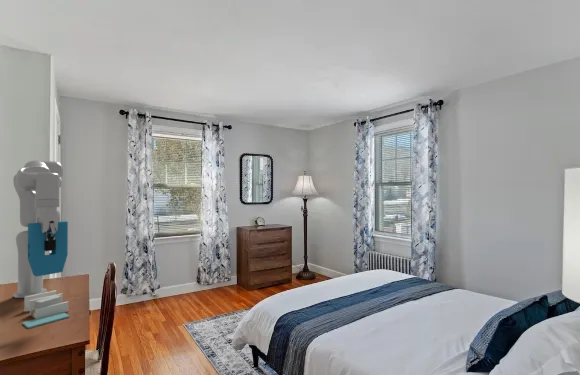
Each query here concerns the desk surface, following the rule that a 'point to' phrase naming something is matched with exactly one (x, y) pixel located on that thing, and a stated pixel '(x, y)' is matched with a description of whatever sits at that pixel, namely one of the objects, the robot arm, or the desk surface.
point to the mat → (45, 320)
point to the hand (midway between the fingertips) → (47, 249)
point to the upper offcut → (48, 301)
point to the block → (36, 252)
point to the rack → (45, 311)
